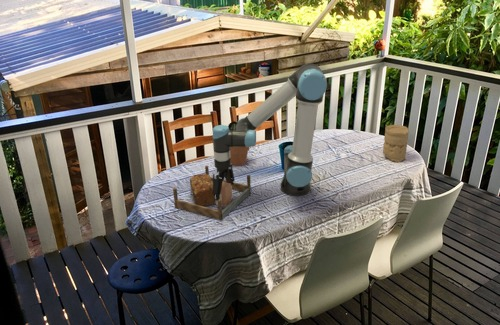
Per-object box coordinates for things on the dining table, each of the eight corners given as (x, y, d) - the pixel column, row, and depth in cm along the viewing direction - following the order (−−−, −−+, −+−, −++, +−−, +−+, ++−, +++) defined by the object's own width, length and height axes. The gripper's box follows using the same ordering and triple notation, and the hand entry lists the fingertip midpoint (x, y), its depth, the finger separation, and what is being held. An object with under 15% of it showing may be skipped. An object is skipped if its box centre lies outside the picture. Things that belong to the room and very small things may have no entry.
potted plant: (241, 169, 250) (240, 127, 239) (221, 164, 257) (219, 123, 246) (254, 160, 260) (253, 119, 250) (235, 155, 267) (233, 115, 256)
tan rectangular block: (231, 201, 218) (230, 183, 213) (226, 206, 214) (225, 187, 210) (222, 199, 220) (221, 181, 216) (217, 204, 216) (216, 185, 212)
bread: (216, 205, 215) (215, 186, 211) (194, 208, 213) (192, 189, 209) (210, 187, 232) (209, 170, 228) (190, 190, 230) (188, 172, 226)
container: (407, 156, 261) (411, 127, 253) (401, 164, 251) (405, 134, 244) (386, 152, 267) (389, 123, 259) (379, 159, 257) (382, 130, 250)
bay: (250, 193, 225) (250, 175, 221) (221, 220, 203) (219, 200, 198) (207, 182, 236) (206, 165, 232) (175, 207, 214) (173, 188, 210)
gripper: (227, 148, 217) (229, 189, 227) (202, 166, 200) (205, 209, 209) (240, 151, 214) (242, 192, 223) (216, 169, 197) (219, 213, 206)
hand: (224, 201), depth 216 cm, fingers open, 9 cm apart
